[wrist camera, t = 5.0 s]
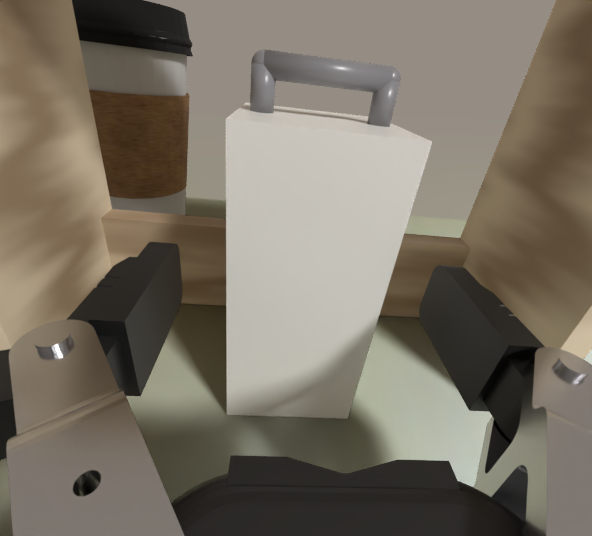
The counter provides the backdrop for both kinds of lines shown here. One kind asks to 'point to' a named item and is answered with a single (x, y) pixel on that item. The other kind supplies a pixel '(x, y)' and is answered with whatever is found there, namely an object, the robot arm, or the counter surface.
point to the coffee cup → (138, 99)
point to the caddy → (311, 235)
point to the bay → (212, 231)
